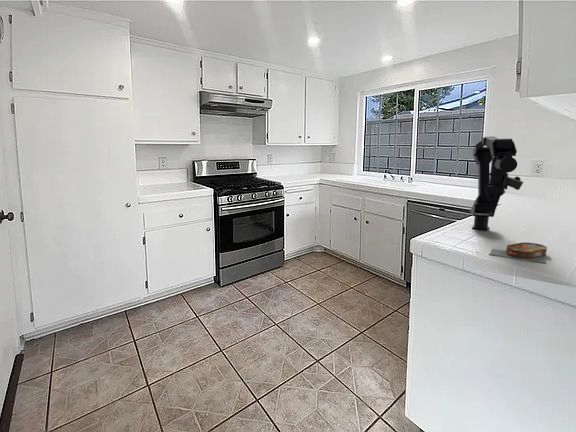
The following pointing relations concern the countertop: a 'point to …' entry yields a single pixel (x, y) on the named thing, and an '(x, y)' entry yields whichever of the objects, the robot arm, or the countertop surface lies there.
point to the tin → (526, 250)
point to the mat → (503, 254)
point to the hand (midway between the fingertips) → (494, 208)
